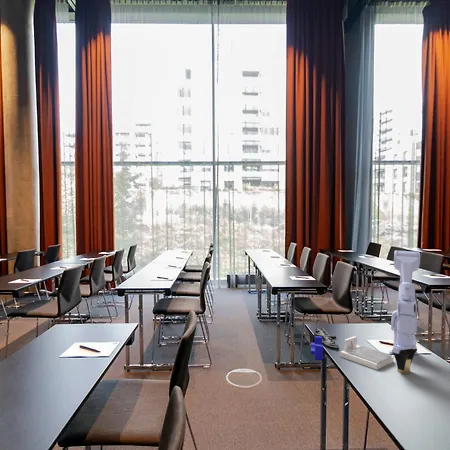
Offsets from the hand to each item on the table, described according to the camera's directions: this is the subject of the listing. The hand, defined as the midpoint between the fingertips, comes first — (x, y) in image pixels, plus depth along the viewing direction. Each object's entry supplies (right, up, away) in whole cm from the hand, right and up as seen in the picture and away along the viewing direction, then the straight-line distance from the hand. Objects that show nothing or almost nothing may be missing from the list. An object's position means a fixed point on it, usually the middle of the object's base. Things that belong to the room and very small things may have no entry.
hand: (403, 367), depth 142 cm
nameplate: (-20, 0, +34) cm, 40 cm away
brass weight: (0, -1, 0) cm, 1 cm away
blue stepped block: (-29, -1, +15) cm, 33 cm away
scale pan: (-9, +1, +10) cm, 14 cm away
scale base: (-10, -1, +11) cm, 15 cm away
